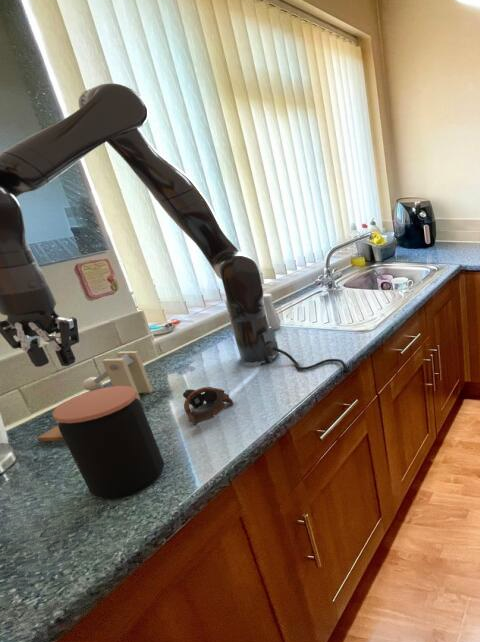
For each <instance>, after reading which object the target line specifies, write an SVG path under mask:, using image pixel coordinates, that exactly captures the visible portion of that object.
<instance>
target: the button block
mask: <svg viewBox="0 0 480 642" xmlns="http://www.w3.org/2000/svg"><path fill="white" fill-rule="evenodd" d="M58 424H59V422H57V424H56V425H55V426H54V427H52V428H50V429H49V430H47V431H45V432H44V433H41V435H39V436H37V437H36V439H37V440H38V442H61V441H62V442H63V441H64V442H65V440H64V438H63V436H62V434H61V432H60V430H59V425H58Z"/></svg>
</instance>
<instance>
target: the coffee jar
mask: <svg viewBox="0 0 480 642" xmlns="http://www.w3.org/2000/svg"><path fill="white" fill-rule="evenodd" d="M136 396H137V393H136V390H135V389H134V388H133V387H130V386H107V387H100V388H99V389H97V390H93V391H86V392H84V393H81V394H79V395H76V396H74V397H71V398H70V399H68V400H65V401H63V402H62V403H61V404H59V405H58V406H56V407H55V409H54V410H53V411H52V413H51V414H52V418H53V419H54V421H55V422H57V425H59V430H60V432H61V434H62V436H63V438H64V440H65V441H64V443H65V445H66V447H67V448H68V450H69V453H70V454H71V456H72V458H73V460H74V462H75V464H76V465H75V466H77V469H78V471H79V472H80V475H81V476H82V479H83V480H84V483H85V485H86V487H87V489H88V491H89V493H90V495H92V496H94V497H96V498H97V499H102V500H115V499H122V498H125V497H128V496H131V495H133V494H135V493H138V492H140V491H142V490H145V488H147V487H149V486H150V485H152V484H153V483H154V482H155V481H157V479H158V478H159V477H160V476H161V475H162V471H163V470H164V465H165V460H164V459H163V456H162V454H161V451H160V448H159V446H158V443H157V440H156V437H155V436H154V433H153V430H152V428H151V425H150V422H149V420H148V418H147V415H146V413H145V411H144V407H143V405H142V402H141V400H138V399H137V398H136ZM58 423H59V424H58Z"/></svg>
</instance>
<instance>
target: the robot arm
mask: <svg viewBox="0 0 480 642" xmlns="http://www.w3.org/2000/svg"><path fill="white" fill-rule="evenodd" d="M77 103H78V108H79V109H77V110H76V111H75V112H73V113H72V114H70V115H69V116H66V117H65V118H63V119H62V120H59V121H58V122H56V123H54V124H52V125H50V126H47V127H46V128H44V129H42V130H40V131H37V132H35V133H33V134H31V135H29V136H28V137H26V138H24V139H22V140H21V141H18V142H17V143H15V144H14V145H12V146H11V147H9V148H7V149H6V150H4V151H2V152H1V153H0V314H1V315H2V316H7V317H6V318H5V319H1V320H0V335H1V336H2V337H3V339H4V340H5V341H6V342H7V343H8V345H9V346H10V347H11V348H12V349H13V350H14V349H15V350H17V349H20V350H22V351H24V352H26V354H27V355H28V358H29V360H30V361H31V363H32V364H33V366H34V367H36V368H41V367H44V366H46V365H47V364H49V363H50V359H49V358H48V356H47V354H46V352H45V350H44V347H43V346H41V339H42V341H43V342H45V343H49V345H50V346H51V347H52V348H53V350H55V351H54V352H55V354H56V356H57V359H58V361H59V363H60V365H61V366H62V367H68V366H71V365H73V364H75V362H76V356H75V354H74V351H73V350H72V348H71V347H72V346H74V345H76V344H79V343H80V335H79V327H78V320H77V318H76V317H74V316H71V317H68V318H66V317H61V316H60V314H59V313H57V312H56V310H55V307H56V305H57V302H56V299H55V296H54V294H53V292H52V290H51V288H50V285H49V283H48V280H47V279H46V275H45V274H44V272H43V270H42V269H41V267H40V265H39V264H38V262H37V260H36V258H35V256H34V254H33V251H32V249H31V247H30V244H29V242H28V241H27V238H26V237H27V235H26V227H25V226H26V225H25V221H24V219H25V218H24V214H23V210H22V207H21V205H20V203H19V201H18V199H17V198H18V197H19V196H20V195H23V194H25V193H30V192H34V191H37V190H40V189H42V188H43V187H45V186H46V185H48V184H49V183H50V182H52V181H54V180H55V179H56V178H57V177H59V176H60V175H62V174H63V173H65V172H66V171H67V170H69V169H70V168H72V166H74V165H75V164H77V163H78V162H79V161H81V160H82V159H83V158H85V157H86V156H87V155H89V154H90V153H91V152H92V151H94V150H96V149H97V148H99V147H100V146H102V145H103V144H105V143H107V144H108V145H109V146H110V147H111V148H112V149H113V150H114V151H115V152H116V153H117V154H118V155H119V156H120V157H121V158H122V160H123V161H124V162H125V163H126V164H127V166H128V167H129V168H130V169H131V171H132V172H133V173H134V175H136V177H137V178H138V179H139V180H140V181H141V183H142V184H143V185H144V186H145V188H146V189H147V191H149V193H150V194H151V195H152V197H153V198H154V200H156V202H157V203H158V204H159V206H160V207H161V208H162V209H163V210H164V211H165V213H166V214H167V215H168V217H170V218H171V219H172V221H173V222H174V223H175V224H176V226H178V227H179V228H180V229H181V230H182V231H183V233H184V234H185V235H187V236H188V237H189V239H190V240H192V242H193V243H194V244H195V245H196V246H197V247H198V248H199V250H200V251H201V253H202V254H203V256H204V257H205V259H206V261H207V262H208V263H209V265H210V267H211V268H212V270H213V271H214V273H215V275H216V276H217V277H218V278H219V279H220V280H221V282H222V286H223V290H224V293H225V307H226V310H227V314H228V317H229V321H230V326H231V328H232V332H233V335H234V339H235V344H236V347H237V350H238V354H239V358H240V361H241V362H242V363H248V364H253V363H254V364H255V363H260V362H262V363H260V365H264V364H271V363H272V362H273V361H274V360H275V359H276V358H277V357H278V356H279V355H280V354H282V355H284V356H285V357H287V358H288V360H290V361H291V362H292V363H293V365H295V368H296V369H297V370H299V371H307V370H312V369H314V368H316V367H318V366H320V365H323V364H327V363H331V362H332V363H333V362H336V363H340V364H341V365H342V367H343V368H344V370H345V371H346V372H347V373H352V371H351V369H350V368H349V366H348V365H347V364H346V363H345V362H344V360H342V359H341V358H328V359H323V360H321V361H319V362H316V363H314V364H312V365H308V366H300V364H299V363H298V361H297V360H296V359H295V358H294V357H293V356H292V355H291V354H289V353H288V352H286V351H285V350H283V349H280V348H279V347H278V346H279V345H278V343H277V340H276V336H275V330H273V327H269V323H268V319H267V315H266V310H265V306H264V302H263V296H264V294H265V293H264V288H263V283H262V278H261V274H260V270H259V267H258V265H257V263H256V262H255V261H254V259H252V258H251V257H250V256H248V255H245V254H243V253H242V252H241V251H240V249H238V247H236V245H234V243H233V242H232V240H231V239H230V238H229V237H228V236H227V235H226V233H225V232H224V230H223V228H222V226H221V225H220V223H219V220H218V219H217V217H216V214H215V212H214V210H213V208H212V206H211V204H210V203H209V202H208V200H207V198H206V197H205V196H204V194H203V193H202V192H201V190H200V189H199V187H197V184H195V182H194V181H193V180H192V179H191V178H190V177H189V176H188V175H187V174H186V173H185V172H184V171H182V170H181V169H180V168H178V167H177V166H176V165H174V164H173V163H172V162H171V161H169V160H168V159H167V158H165V157H164V156H163V155H162V154H160V153H159V152H158V150H156V149H155V147H154V146H153V145H152V144H151V143H150V141H149V140H148V139H147V138H146V136H145V135H144V134H143V132H142V131H141V129H140V128H142V127H143V126H144V125H145V124H146V122H147V120H148V117H149V109H148V106H147V103H146V102H145V101H144V99H143V98H142V97H141V95H140V94H139V93H138V92H136V91H135V90H133V89H132V88H130V87H128V86H125V85H122V84H120V83H115V82H113V83H111V82H110V83H109V82H107V83H102V84H101V83H100V84H99V85H96V86H94V87H91V88H89V89H86V90H85V91H83V92H82V93H81V94H80V95H79V97H78V102H77ZM52 334H53V335H52ZM14 337H16V338H17V340H18V341H17V340H16V338H14ZM57 339H58V340H59V341H60V342H59V341H58V340H57Z"/></svg>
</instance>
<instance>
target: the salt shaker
mask: <svg viewBox="0 0 480 642" xmlns="http://www.w3.org/2000/svg"><path fill="white" fill-rule="evenodd" d="M273 300H274V296H273V294H271V293H264V296H263V302H264V306H265V310H266V315H267V319H268V323H269V327H273V331H275V330H278V329H279V328H280V326H281V323H282V322H281V319H280V316H279V313H278V312H277V310H276V307H275V305H274V303H273Z"/></svg>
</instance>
